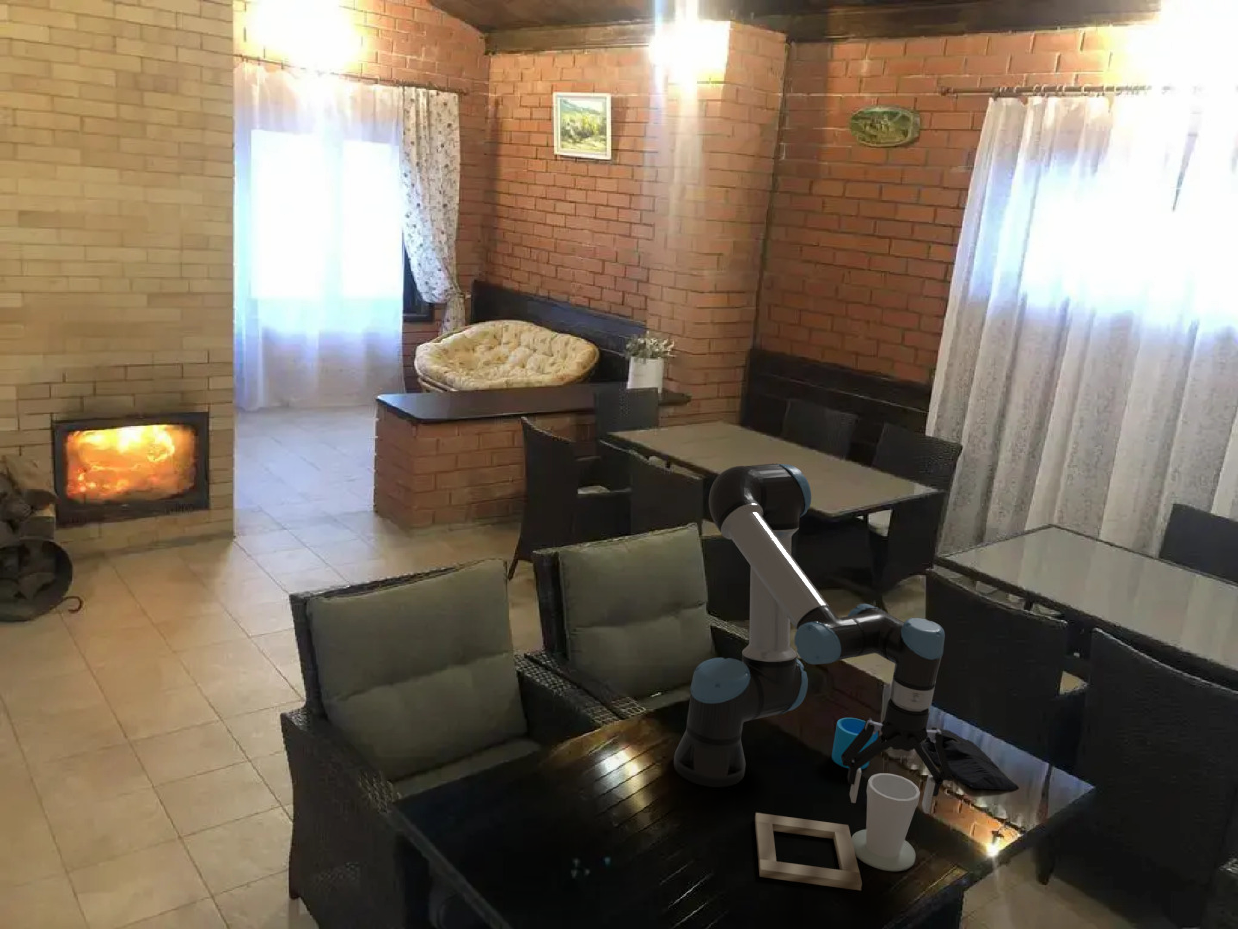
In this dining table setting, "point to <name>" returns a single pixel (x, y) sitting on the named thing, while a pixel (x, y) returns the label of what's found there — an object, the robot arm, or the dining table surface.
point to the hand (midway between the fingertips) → (888, 804)
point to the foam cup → (889, 812)
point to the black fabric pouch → (969, 763)
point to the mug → (848, 738)
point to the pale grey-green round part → (888, 864)
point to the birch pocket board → (802, 873)
